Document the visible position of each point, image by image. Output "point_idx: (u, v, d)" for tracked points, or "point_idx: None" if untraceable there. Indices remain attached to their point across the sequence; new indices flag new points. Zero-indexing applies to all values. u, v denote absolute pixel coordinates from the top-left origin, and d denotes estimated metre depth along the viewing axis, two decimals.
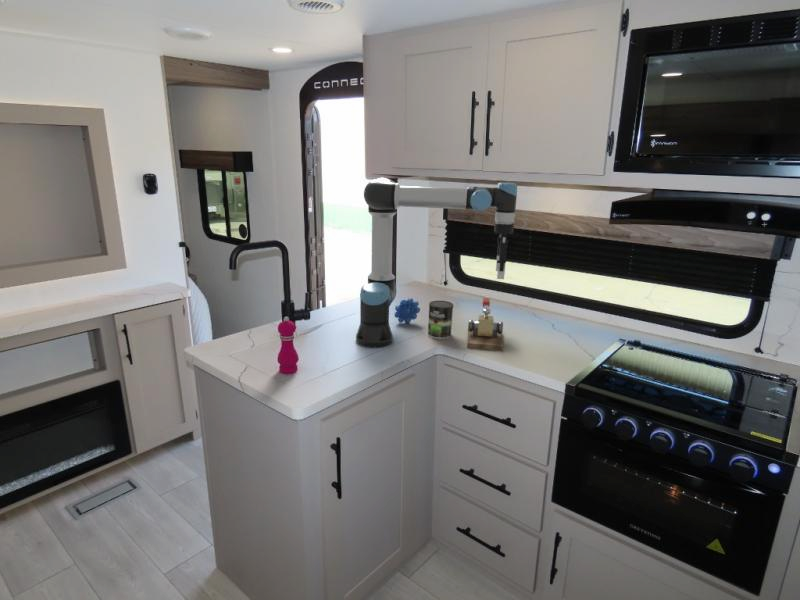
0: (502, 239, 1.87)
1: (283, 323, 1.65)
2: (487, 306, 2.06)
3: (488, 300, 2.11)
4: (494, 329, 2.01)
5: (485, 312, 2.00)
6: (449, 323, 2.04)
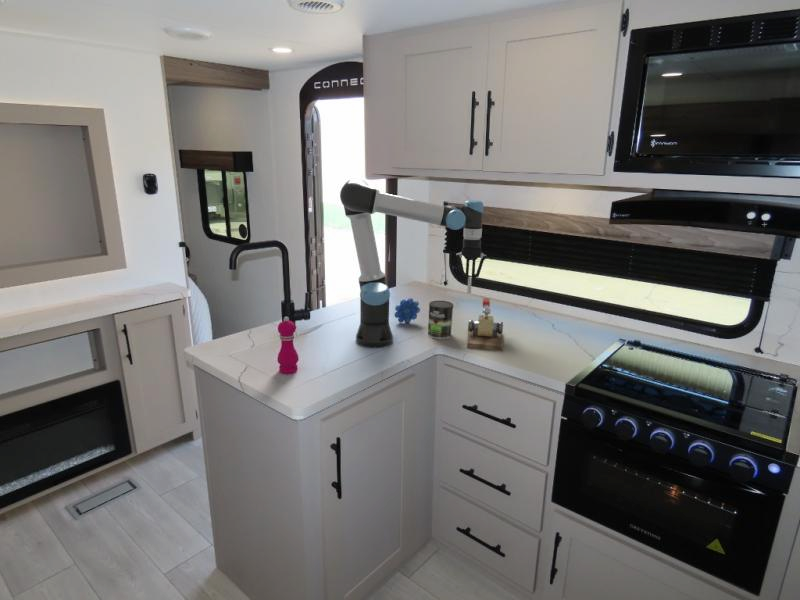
0: None
1: (283, 323, 1.65)
2: (487, 306, 2.06)
3: (488, 300, 2.11)
4: (494, 329, 2.01)
5: (485, 312, 2.00)
6: (449, 323, 2.04)
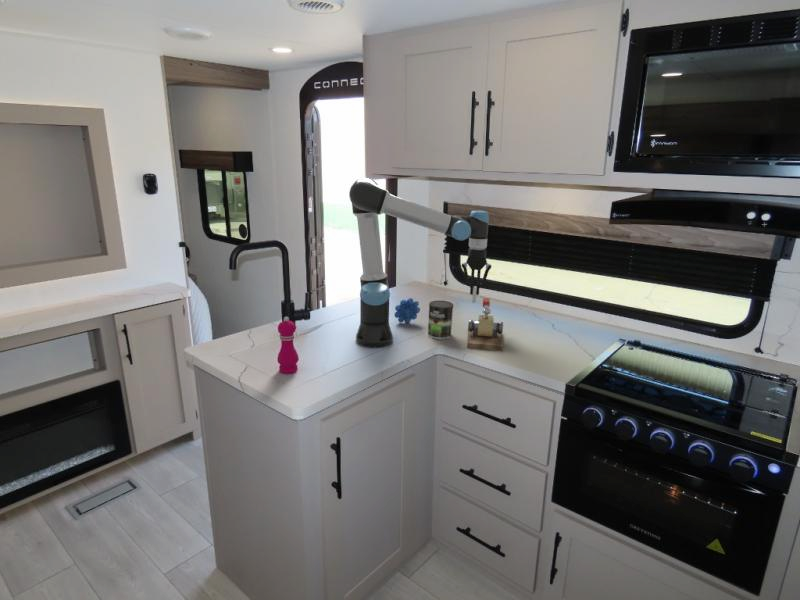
0: None
1: (283, 323, 1.65)
2: (487, 306, 2.06)
3: (488, 300, 2.11)
4: (494, 329, 2.01)
5: (485, 312, 2.00)
6: (449, 323, 2.04)
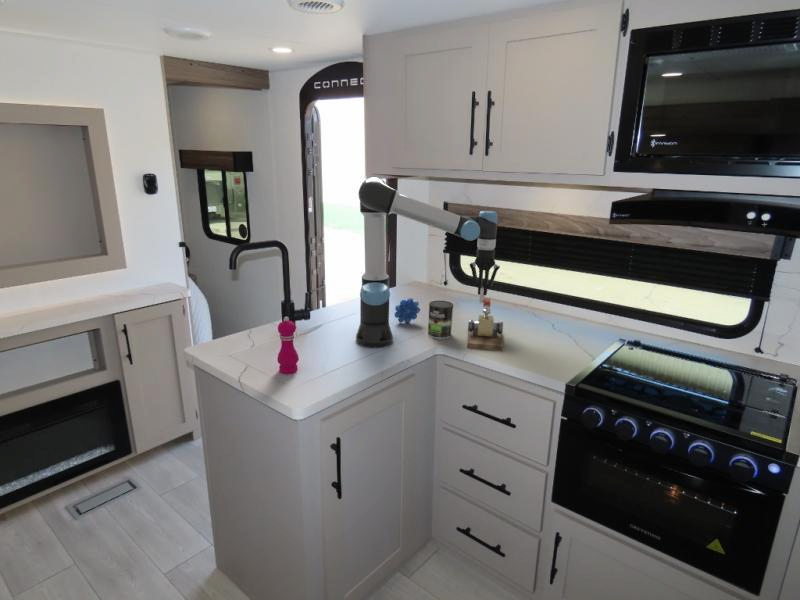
0: None
1: (283, 323, 1.65)
2: (487, 306, 2.05)
3: (489, 300, 2.11)
4: (494, 329, 2.01)
5: (485, 312, 2.00)
6: (449, 323, 2.04)
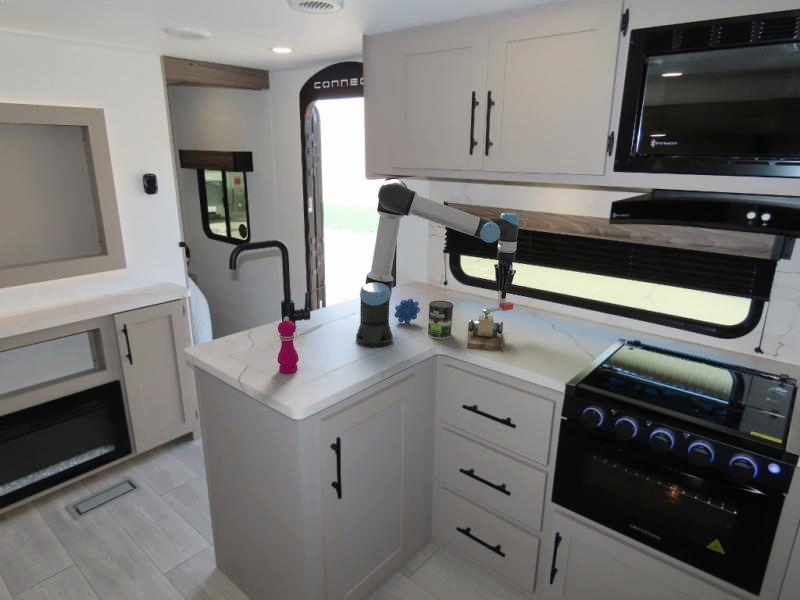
0: None
1: (283, 323, 1.65)
2: (496, 308, 2.03)
3: (507, 304, 2.06)
4: (494, 329, 2.01)
5: (483, 311, 2.01)
6: (449, 323, 2.04)
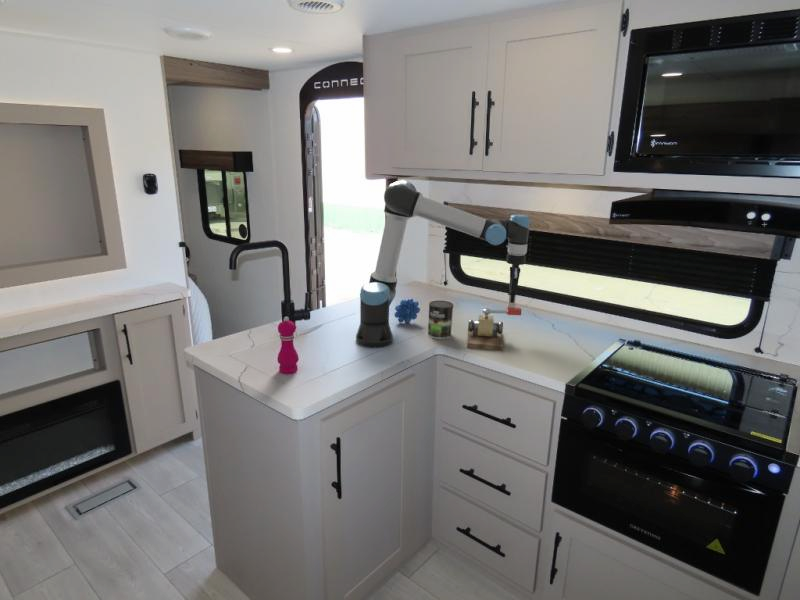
0: None
1: (283, 323, 1.65)
2: (498, 310, 2.00)
3: (513, 309, 2.00)
4: (494, 329, 2.01)
5: None
6: (449, 323, 2.04)
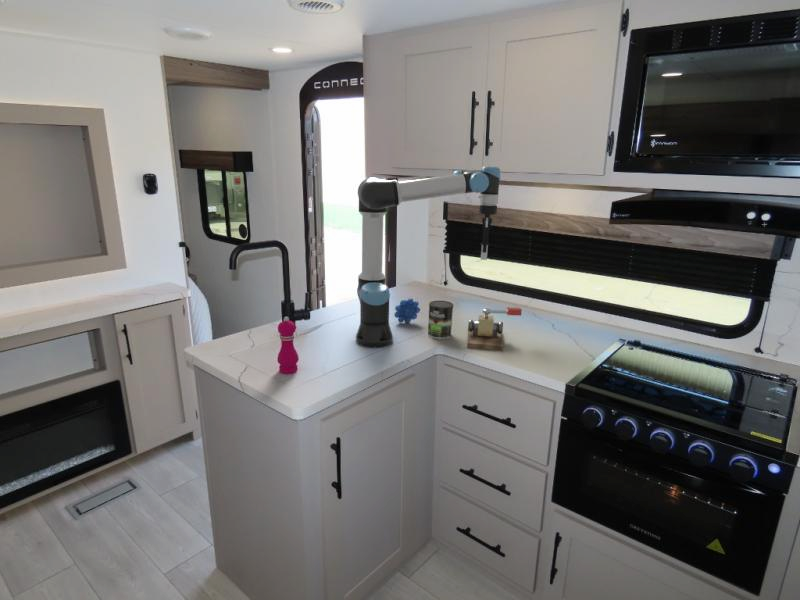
0: None
1: (283, 323, 1.65)
2: (499, 310, 2.00)
3: (513, 309, 1.99)
4: (494, 329, 2.01)
5: None
6: (449, 323, 2.04)
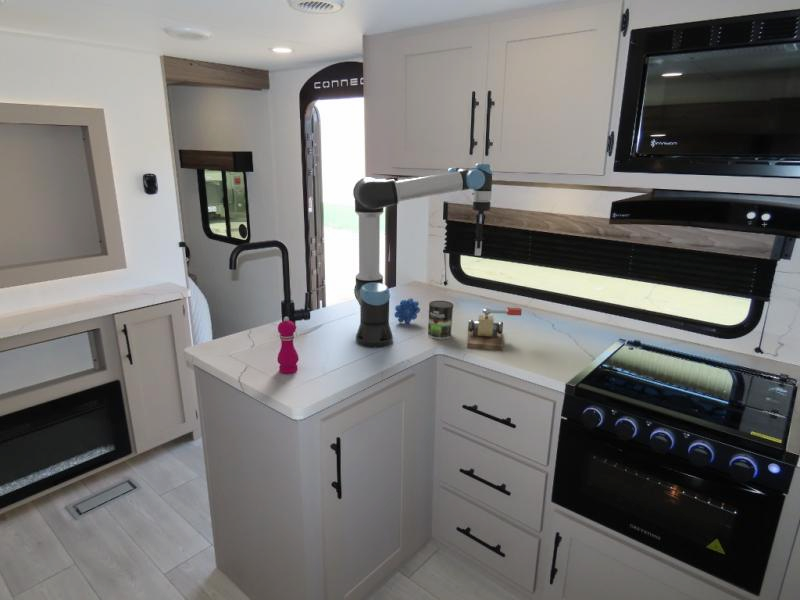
0: None
1: (283, 323, 1.65)
2: (499, 310, 2.00)
3: (513, 309, 1.99)
4: (494, 329, 2.01)
5: None
6: (449, 323, 2.04)
